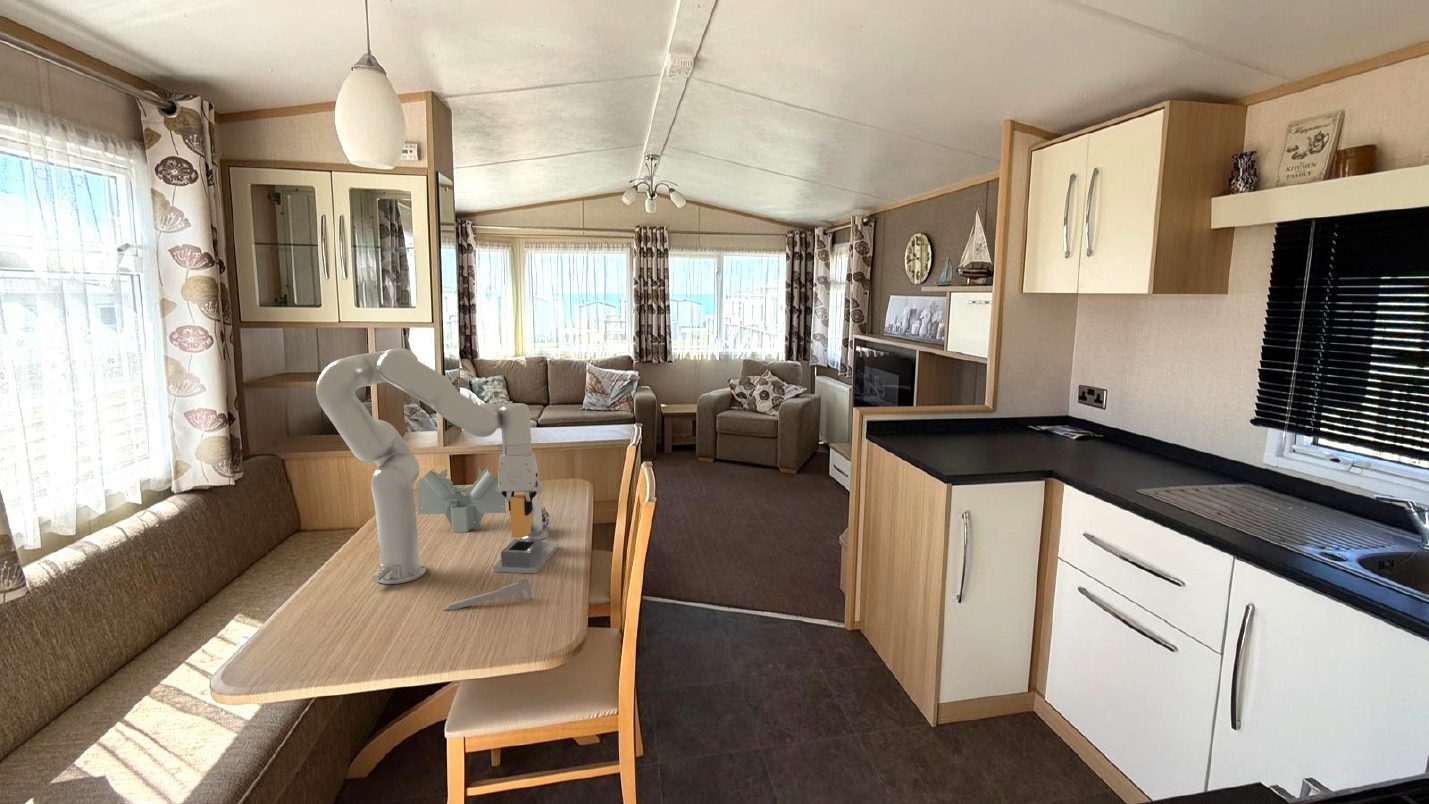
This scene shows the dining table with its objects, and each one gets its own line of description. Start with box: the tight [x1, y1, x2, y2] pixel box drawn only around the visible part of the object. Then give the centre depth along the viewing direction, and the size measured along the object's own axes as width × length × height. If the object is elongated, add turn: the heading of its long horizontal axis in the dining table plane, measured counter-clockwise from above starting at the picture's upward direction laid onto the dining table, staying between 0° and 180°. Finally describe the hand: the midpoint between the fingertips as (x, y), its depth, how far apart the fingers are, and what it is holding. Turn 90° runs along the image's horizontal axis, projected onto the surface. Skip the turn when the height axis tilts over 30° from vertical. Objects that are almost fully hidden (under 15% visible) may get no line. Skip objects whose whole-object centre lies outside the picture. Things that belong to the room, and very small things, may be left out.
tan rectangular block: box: [510, 493, 531, 539], centre depth 185 cm, size 5×4×11 cm
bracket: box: [415, 467, 507, 533], centre depth 214 cm, size 28×7×20 cm, turn 93°
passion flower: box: [542, 506, 550, 531], centre depth 210 cm, size 11×11×12 cm
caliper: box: [443, 576, 533, 611], centre depth 163 cm, size 20×1×6 cm, turn 107°
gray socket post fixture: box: [493, 497, 560, 575], centre depth 190 cm, size 19×12×16 cm, turn 174°
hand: (521, 513), depth 185 cm, fingers closed on tan rectangular block, 3 cm apart
